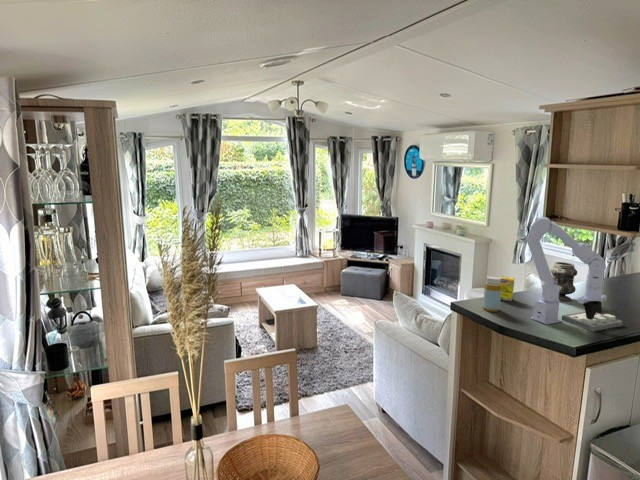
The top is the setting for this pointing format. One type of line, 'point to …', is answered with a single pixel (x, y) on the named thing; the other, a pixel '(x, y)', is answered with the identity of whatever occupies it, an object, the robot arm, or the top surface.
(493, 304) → the bottle
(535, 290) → the top surface
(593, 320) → the left button
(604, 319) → the middle button
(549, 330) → the top surface
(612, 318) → the right button
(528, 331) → the top surface
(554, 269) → the apothecary jar
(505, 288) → the supplement box
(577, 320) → the button board
